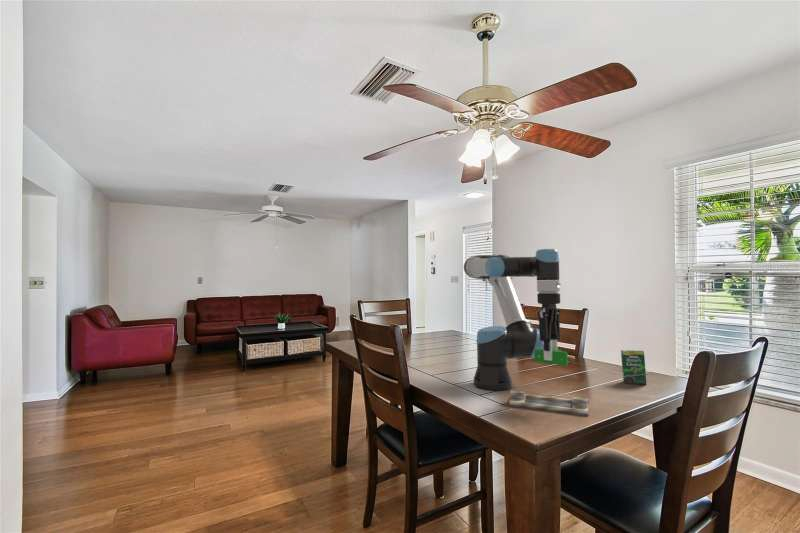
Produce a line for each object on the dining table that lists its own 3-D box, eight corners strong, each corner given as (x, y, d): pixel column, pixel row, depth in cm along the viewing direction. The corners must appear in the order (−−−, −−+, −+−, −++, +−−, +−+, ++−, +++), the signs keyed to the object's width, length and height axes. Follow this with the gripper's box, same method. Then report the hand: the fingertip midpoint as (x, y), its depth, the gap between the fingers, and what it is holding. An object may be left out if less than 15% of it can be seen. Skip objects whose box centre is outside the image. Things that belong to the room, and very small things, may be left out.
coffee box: (622, 383, 148) (621, 350, 149) (622, 381, 151) (620, 349, 151) (646, 385, 145) (645, 352, 145) (645, 383, 147) (644, 350, 148)
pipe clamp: (571, 364, 125) (570, 350, 126) (566, 366, 123) (566, 352, 123) (539, 359, 133) (538, 347, 134) (534, 361, 131) (534, 348, 131)
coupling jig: (508, 405, 125) (507, 394, 125) (512, 396, 134) (512, 386, 134) (589, 416, 114) (589, 404, 114) (588, 405, 123) (588, 394, 123)
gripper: (548, 293, 121) (551, 364, 120) (568, 291, 133) (571, 356, 132) (527, 293, 126) (529, 361, 125) (548, 291, 138) (550, 354, 137)
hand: (551, 358), depth 129 cm, fingers closed on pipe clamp, 4 cm apart
